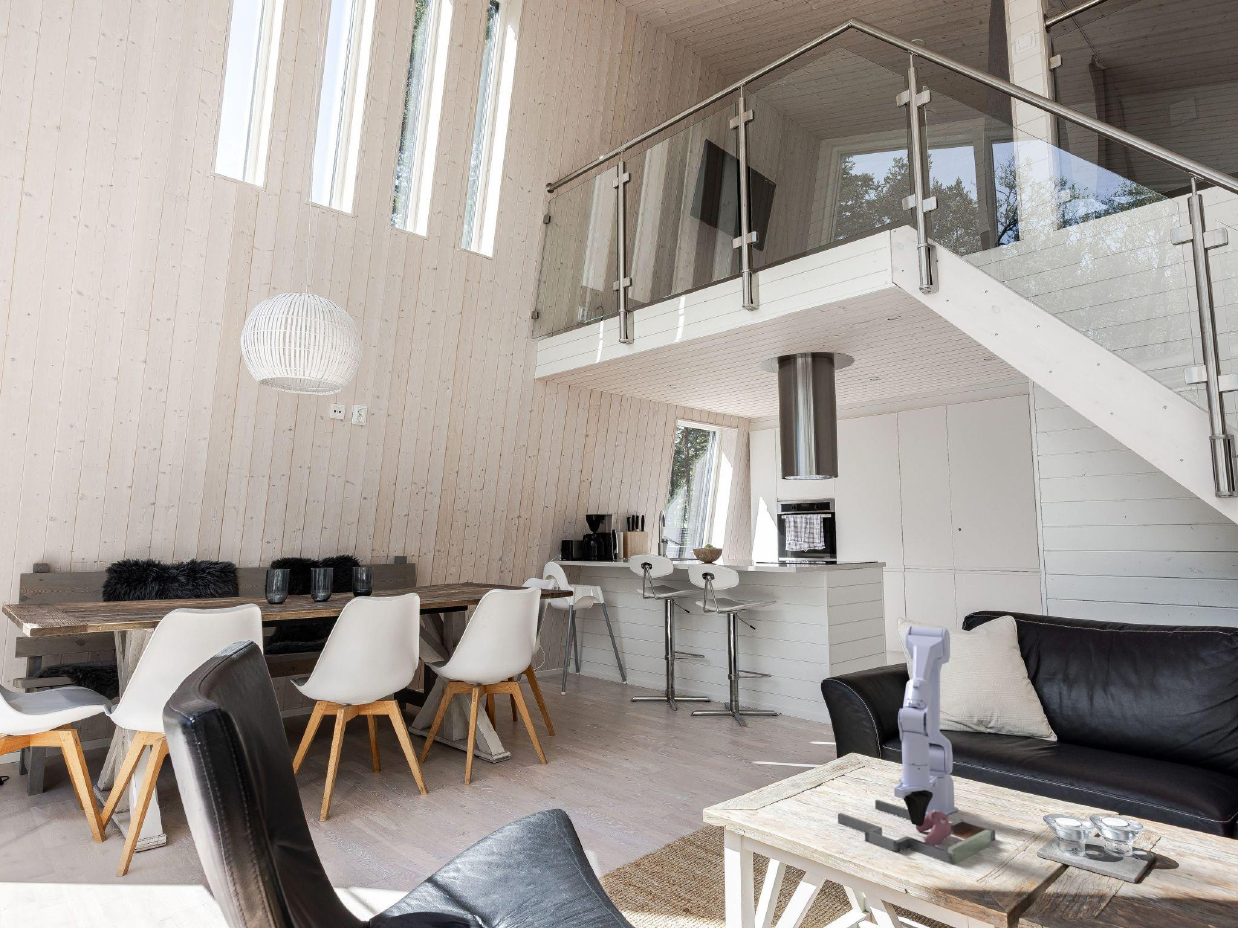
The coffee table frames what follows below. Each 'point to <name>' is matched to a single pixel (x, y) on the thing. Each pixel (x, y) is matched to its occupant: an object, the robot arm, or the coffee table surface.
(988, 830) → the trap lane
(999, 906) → the coffee table surface
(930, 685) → the robot arm
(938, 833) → the video game controller
